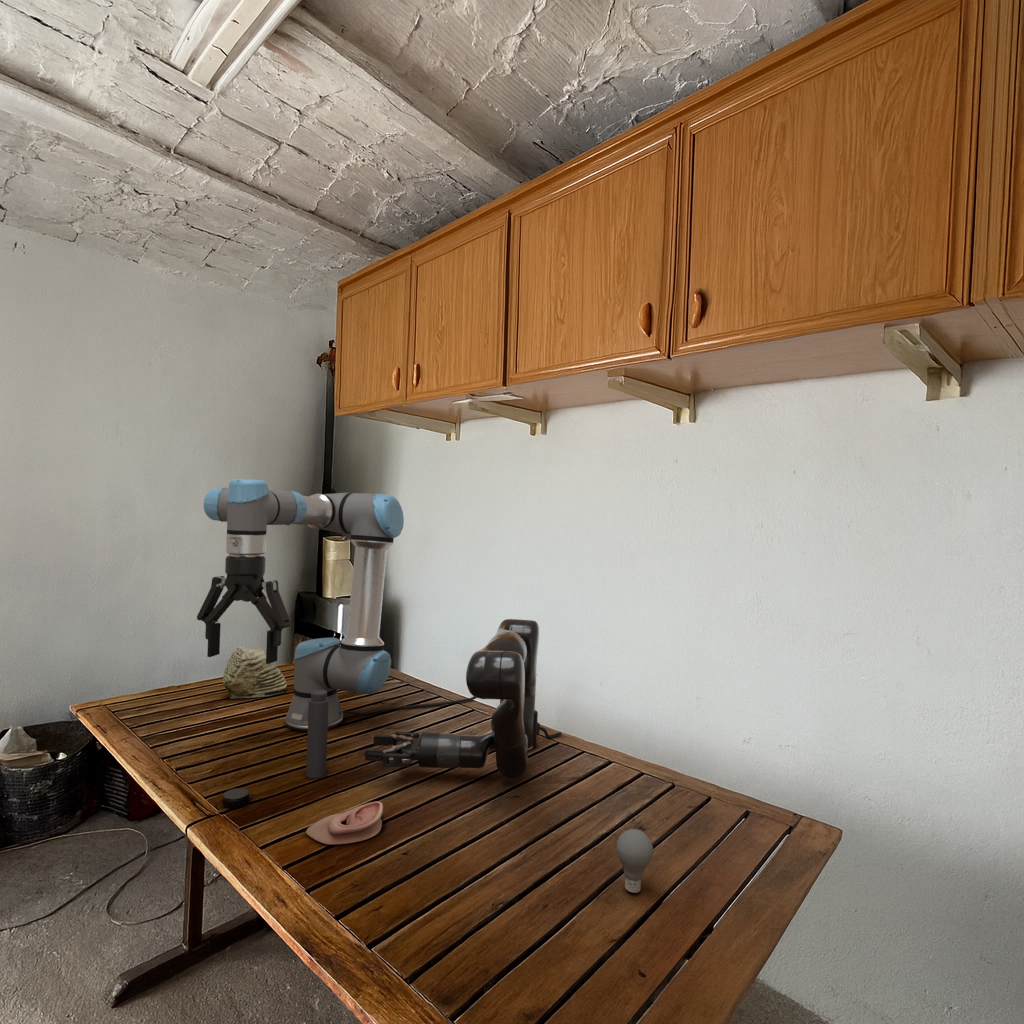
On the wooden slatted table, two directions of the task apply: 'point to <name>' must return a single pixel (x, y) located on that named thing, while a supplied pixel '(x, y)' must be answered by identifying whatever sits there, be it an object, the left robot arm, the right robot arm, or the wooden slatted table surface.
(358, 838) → the anatomical model
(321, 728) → the bottle
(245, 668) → the fossil
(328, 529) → the left robot arm
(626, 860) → the light bulb
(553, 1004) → the wooden slatted table surface
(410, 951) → the wooden slatted table surface
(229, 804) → the lid
